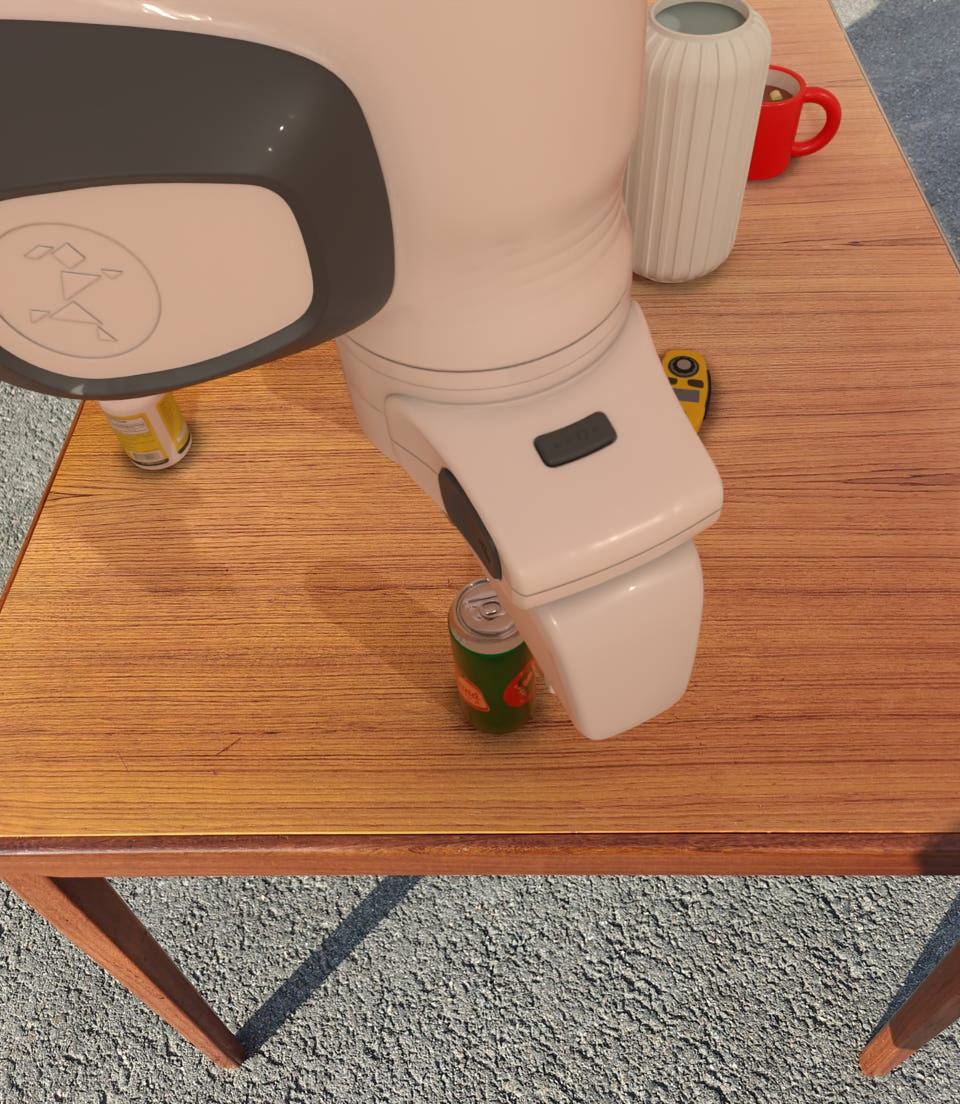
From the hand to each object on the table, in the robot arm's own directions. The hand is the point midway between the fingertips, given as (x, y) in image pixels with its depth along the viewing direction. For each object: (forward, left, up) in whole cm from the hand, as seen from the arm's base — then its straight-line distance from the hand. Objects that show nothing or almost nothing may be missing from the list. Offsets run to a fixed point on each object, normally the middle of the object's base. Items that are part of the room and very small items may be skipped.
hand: (509, 587), depth 40 cm
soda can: (+1, +6, -23) cm, 24 cm away
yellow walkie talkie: (+25, +22, -23) cm, 41 cm away
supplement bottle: (-14, +40, -23) cm, 48 cm away
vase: (+36, +41, -23) cm, 60 cm away
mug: (+54, +50, -23) cm, 77 cm away
